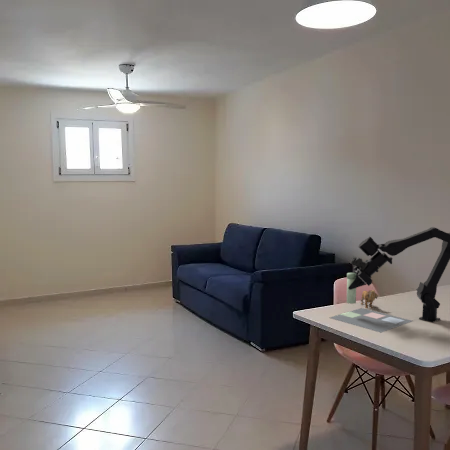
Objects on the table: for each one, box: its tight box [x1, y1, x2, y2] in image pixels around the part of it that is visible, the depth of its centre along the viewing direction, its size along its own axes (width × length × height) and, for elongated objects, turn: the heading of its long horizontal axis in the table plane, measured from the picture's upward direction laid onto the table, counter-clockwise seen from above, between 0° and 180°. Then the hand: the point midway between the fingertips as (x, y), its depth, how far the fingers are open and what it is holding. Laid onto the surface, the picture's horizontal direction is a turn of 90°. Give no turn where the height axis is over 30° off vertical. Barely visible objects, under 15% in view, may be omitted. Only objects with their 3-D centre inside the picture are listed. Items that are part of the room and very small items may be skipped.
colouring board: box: [328, 307, 413, 334], centre depth 204 cm, size 24×26×1 cm
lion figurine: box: [360, 289, 379, 309], centre depth 226 cm, size 15×5×9 cm, turn 9°
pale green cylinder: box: [346, 272, 357, 305], centre depth 208 cm, size 4×4×13 cm
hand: (348, 287), depth 208 cm, fingers closed on pale green cylinder, 4 cm apart
